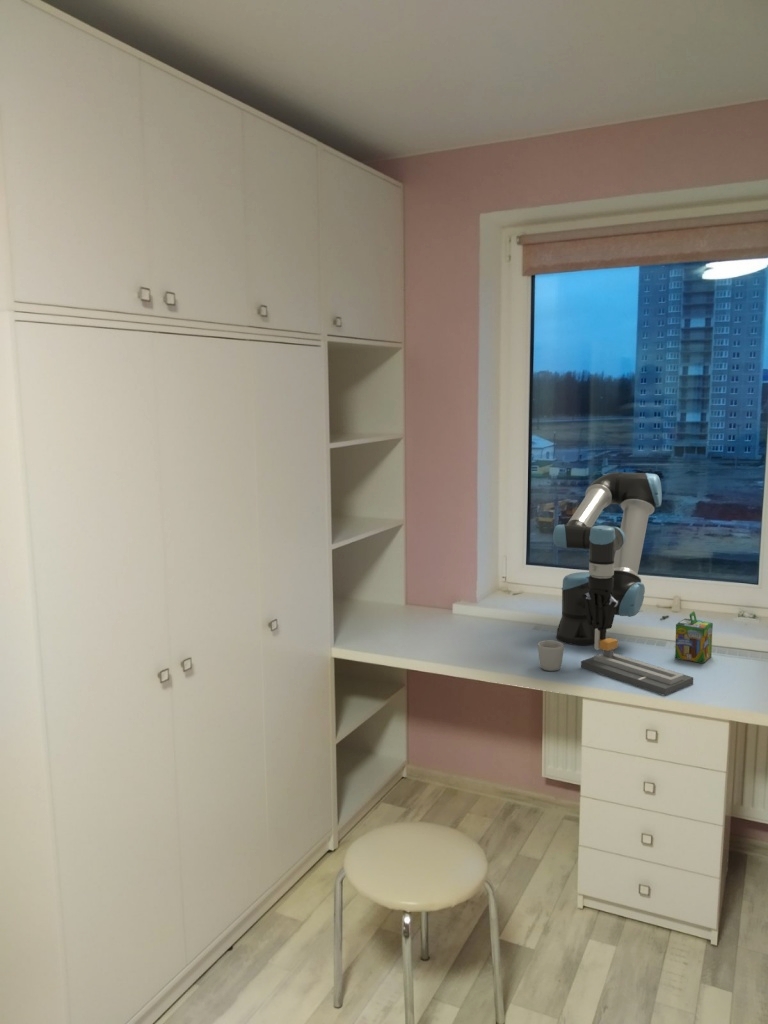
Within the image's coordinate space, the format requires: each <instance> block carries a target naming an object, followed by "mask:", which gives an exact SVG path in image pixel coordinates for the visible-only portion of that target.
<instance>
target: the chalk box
mask: <svg viewBox="0 0 768 1024" xmlns="http://www.w3.org/2000/svg"><path fill="white" fill-rule="evenodd" d="M713 625H714V624H713V622H709V621H704V620H699V619H697V616H696V612H695V611H694V610H693V611H692V612H691V613H689V618H684V619H682V620H680V621H678V622H677V623H676V624H675V646H674V647H675V648H674V649H675V650H674V652H675V653H674V659H677V660H678V659H679V660H682V661H683V660H684V661H687V662H688V661H689V662H696V663H700V664H704V663H705V662H706V661H708V660H709V659H710V658H711V657H712V651H713V650H712V649H713Z"/></svg>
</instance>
